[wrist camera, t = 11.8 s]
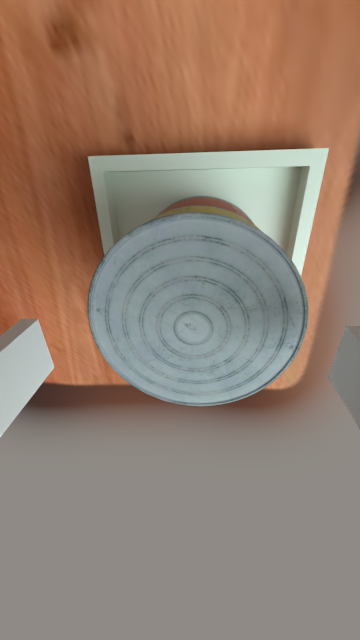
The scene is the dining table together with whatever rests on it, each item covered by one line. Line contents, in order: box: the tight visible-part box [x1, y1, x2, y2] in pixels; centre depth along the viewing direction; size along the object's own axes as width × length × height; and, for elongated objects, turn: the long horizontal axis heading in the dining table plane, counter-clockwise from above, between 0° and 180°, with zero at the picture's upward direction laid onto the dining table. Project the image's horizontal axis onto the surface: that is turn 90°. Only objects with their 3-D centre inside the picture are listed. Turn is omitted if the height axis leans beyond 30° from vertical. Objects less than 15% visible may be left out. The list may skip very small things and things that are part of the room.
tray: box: [88, 148, 329, 276], centre depth 23 cm, size 17×17×2 cm
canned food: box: [88, 196, 308, 406], centre depth 18 cm, size 11×11×12 cm
